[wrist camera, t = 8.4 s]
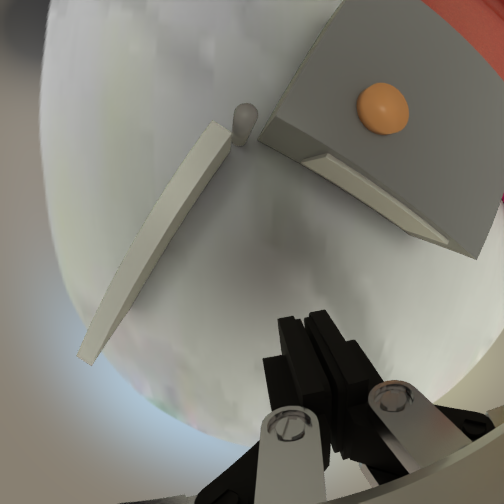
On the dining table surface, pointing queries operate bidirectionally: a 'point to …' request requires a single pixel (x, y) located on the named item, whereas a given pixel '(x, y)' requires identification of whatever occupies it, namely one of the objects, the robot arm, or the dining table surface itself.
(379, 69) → the camera case
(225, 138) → the side door
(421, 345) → the dining table surface
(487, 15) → the plant saucer
